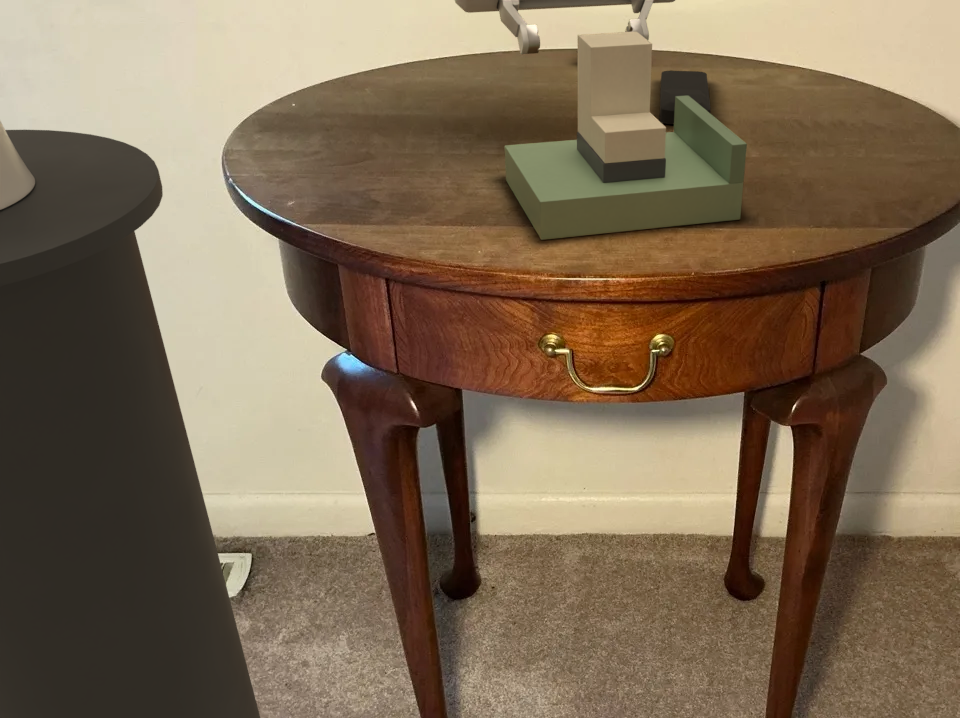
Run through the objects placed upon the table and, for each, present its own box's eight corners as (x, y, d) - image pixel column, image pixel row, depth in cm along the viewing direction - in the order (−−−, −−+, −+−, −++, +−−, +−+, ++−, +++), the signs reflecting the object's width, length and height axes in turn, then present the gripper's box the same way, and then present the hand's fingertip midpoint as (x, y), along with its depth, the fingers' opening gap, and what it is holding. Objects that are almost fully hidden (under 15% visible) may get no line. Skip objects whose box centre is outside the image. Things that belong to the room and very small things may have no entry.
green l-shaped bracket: (540, 240, 78) (539, 161, 75) (505, 180, 89) (502, 108, 85) (740, 219, 82) (747, 143, 79) (684, 164, 92) (688, 95, 89)
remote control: (660, 87, 114) (659, 124, 101) (661, 69, 113) (660, 105, 100) (705, 88, 114) (710, 125, 101) (706, 71, 113) (712, 106, 100)
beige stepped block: (576, 149, 86) (576, 34, 81) (634, 144, 87) (637, 31, 82) (603, 183, 80) (604, 60, 75) (665, 177, 81) (670, 56, 76)
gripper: (437, -124, 85) (465, 32, 83) (676, -129, 90) (709, 18, 88) (433, -71, 91) (460, 75, 89) (657, -78, 96) (688, 60, 94)
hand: (585, 47), depth 88 cm, fingers open, 8 cm apart
